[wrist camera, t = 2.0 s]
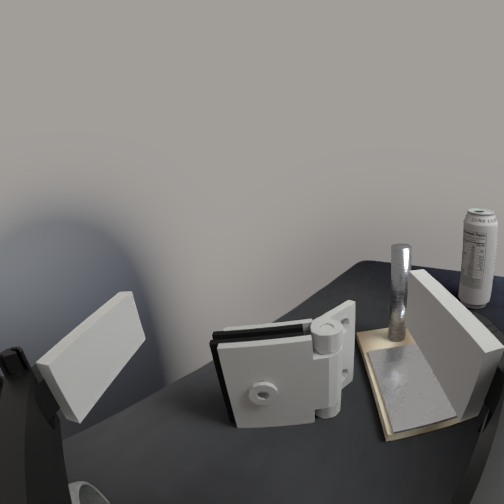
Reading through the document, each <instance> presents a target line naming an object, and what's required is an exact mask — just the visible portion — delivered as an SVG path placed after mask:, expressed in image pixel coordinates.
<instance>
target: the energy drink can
mask: <svg viewBox="0 0 504 504" xmlns="http://www.w3.org/2000/svg"><path fill="white" fill-rule="evenodd" d="M467 212H468V213H467V215H466V217H465V219H464V233H463V252H462V266H461V276H460V285H459V294H458V297H459V299H460V302H461V303H462V304H463V305H464V306H465V307H467V308H471V309H480V308H483V307H485V306H486V303H488V302H489V301H490V296H491V290H492V283H493V276H494V268H495V260H496V259H495V258H496V249H497V248H496V247H497V234H498V222H497V220H496V217H495V211H493V210H489V209H482V208H471V209H468V210H467Z"/></svg>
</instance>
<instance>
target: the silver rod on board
mask: <svg viewBox="0 0 504 504" xmlns="http://www.w3.org/2000/svg"><path fill="white" fill-rule="evenodd" d="M391 251H392V252H391V254H392V255H391V256H392V257H391V258H392V259H391V261H392V262H391V297H390V315H389V328H388V339H389V340H390V341H392V342H401V341H403V340H404V339H405V337H406V326H405V317H406V307H407V295H408V281H409V271H411V246H410V245H408V244H395V245H392V247H391ZM368 356H369V358H370V361H371V364H372V367H373V370H374V373H375V376H376V379H377V382H378V386H379V389H380V392H381V395H382V398H383V401H384V405H385V408H386V411H387V415H388V418H389V422H390V425H391V428H392V432H393V434H397V433H401V432H406V431H410V430H414V429H419V428H422V427H426V426H430V425H434V424H437V423H441V422H444V421H447V420H451V419H454V418H457V415H456V413H455V411H454V409H453V407H452V405H451V404H450V402H449V400H448V398H447V396H446V394H445V392H444V391H443V389H442V387H441V385H440V383H439V381H438V380H437V378H436V376H435V374H434V373H433V371H432V369H431V367H430V366H429V364H428V362H427V361H426V359H425V357H424V355H423V354H422V352H421V350H420V349H419V347H418V345H417V344H416V343H414V344H409V345H403V346H397V347H391V348H385V349H379V350H372V351H368Z"/></svg>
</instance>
